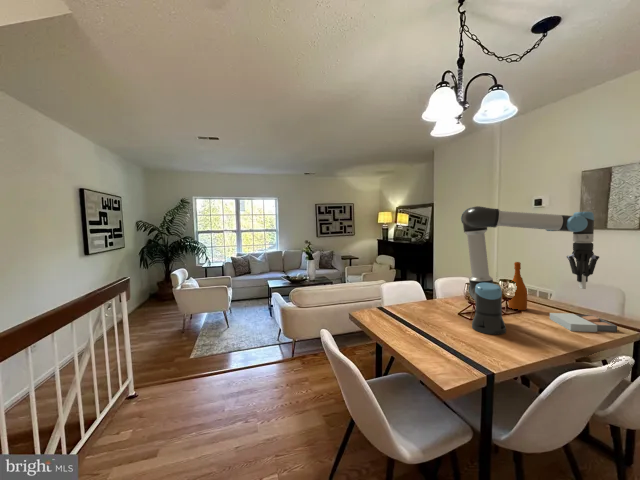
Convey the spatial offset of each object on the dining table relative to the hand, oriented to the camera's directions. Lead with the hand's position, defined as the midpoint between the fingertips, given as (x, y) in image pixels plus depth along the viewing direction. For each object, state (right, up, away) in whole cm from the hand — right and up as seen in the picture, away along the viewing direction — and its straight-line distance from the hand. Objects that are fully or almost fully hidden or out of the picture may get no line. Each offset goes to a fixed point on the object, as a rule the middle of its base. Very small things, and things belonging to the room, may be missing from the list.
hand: (582, 288), depth 140 cm
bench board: (-1, -20, +5) cm, 21 cm away
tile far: (+11, -17, +7) cm, 21 cm away
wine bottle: (-8, -19, +35) cm, 41 cm away
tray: (+9, -20, +3) cm, 22 cm away
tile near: (+9, -18, -1) cm, 20 cm away
